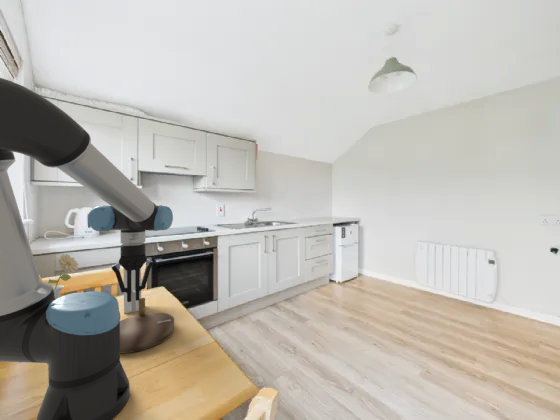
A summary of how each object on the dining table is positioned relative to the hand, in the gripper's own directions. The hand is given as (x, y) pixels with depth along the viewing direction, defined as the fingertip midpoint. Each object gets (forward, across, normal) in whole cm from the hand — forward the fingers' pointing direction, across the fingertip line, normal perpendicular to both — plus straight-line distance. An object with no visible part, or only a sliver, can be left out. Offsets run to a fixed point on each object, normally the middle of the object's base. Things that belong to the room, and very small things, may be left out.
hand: (133, 309), depth 86 cm
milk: (+6, +1, +16) cm, 17 cm away
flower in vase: (+6, -22, +15) cm, 27 cm away
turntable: (+5, +2, -9) cm, 11 cm away
